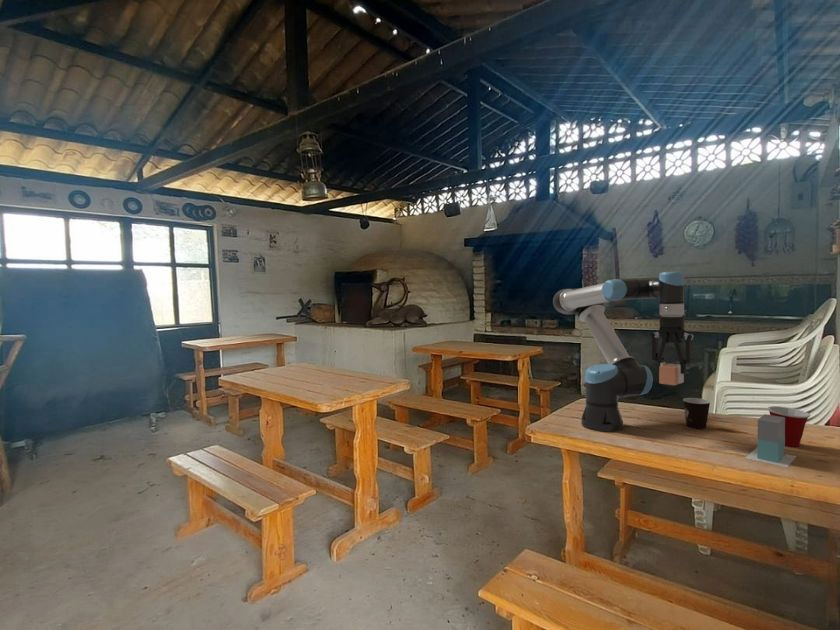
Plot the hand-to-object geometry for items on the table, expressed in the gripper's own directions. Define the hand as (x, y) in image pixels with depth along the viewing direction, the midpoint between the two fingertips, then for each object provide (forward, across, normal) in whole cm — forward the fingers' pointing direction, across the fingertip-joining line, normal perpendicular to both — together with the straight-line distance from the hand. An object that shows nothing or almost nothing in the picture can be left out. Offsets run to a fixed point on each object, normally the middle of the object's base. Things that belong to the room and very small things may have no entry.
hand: (671, 381), depth 155 cm
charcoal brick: (+13, +28, 0) cm, 31 cm away
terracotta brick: (0, 0, 0) cm, 0 cm away
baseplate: (+20, +28, 0) cm, 35 cm away
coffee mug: (+20, +1, +20) cm, 28 cm away
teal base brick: (+19, +28, 0) cm, 34 cm away
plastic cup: (+20, +29, +17) cm, 39 cm away
